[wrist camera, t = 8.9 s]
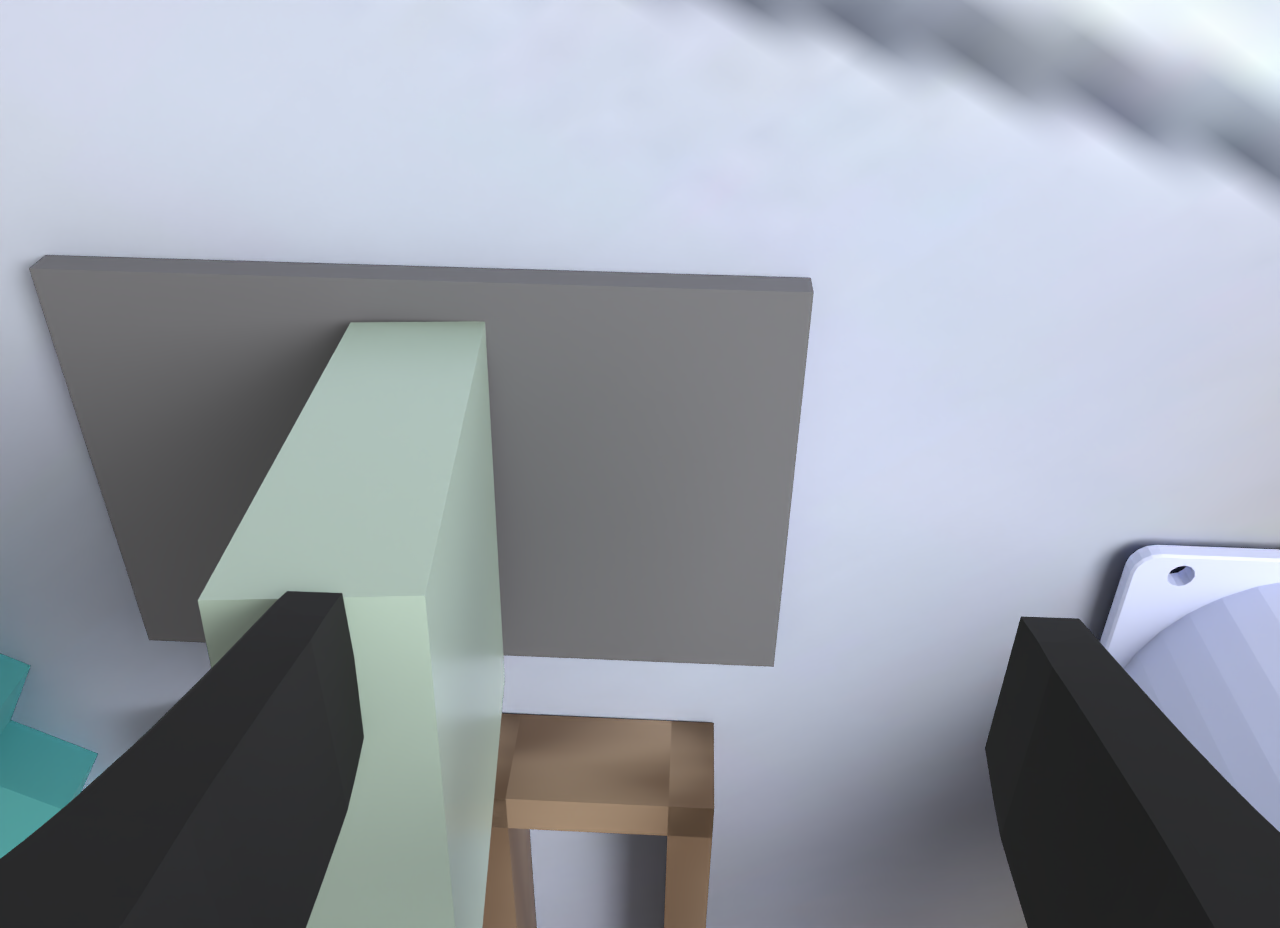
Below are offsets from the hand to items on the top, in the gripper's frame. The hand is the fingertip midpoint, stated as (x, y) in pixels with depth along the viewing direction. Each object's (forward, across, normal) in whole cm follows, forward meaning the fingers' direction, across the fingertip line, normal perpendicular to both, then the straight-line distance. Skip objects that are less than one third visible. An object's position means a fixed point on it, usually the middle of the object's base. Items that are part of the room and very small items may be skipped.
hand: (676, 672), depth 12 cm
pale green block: (+8, +5, +4) cm, 11 cm away
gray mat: (+10, +5, +4) cm, 11 cm away
